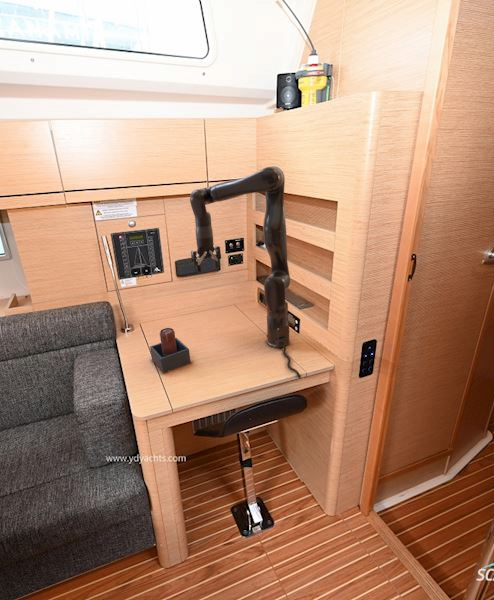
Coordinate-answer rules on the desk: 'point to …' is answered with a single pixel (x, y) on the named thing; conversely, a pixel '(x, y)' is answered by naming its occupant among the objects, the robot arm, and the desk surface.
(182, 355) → the bin
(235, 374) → the desk surface
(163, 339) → the can
